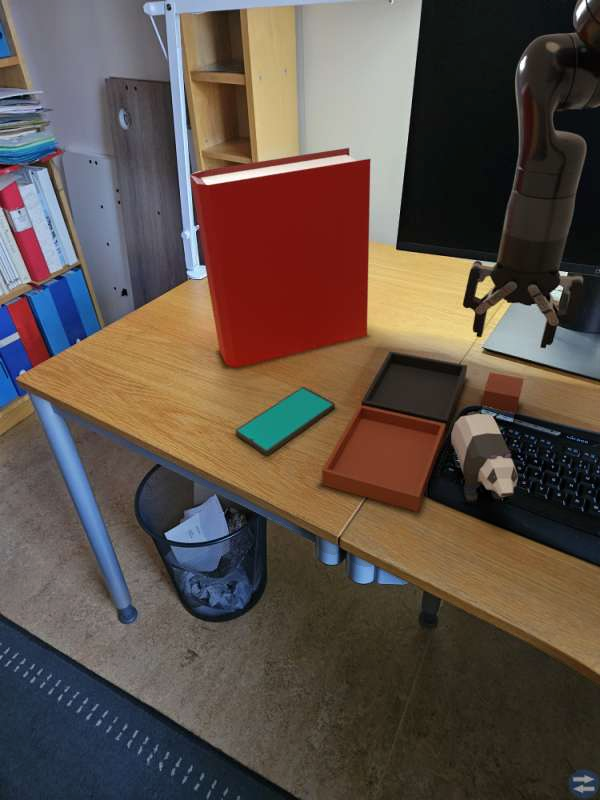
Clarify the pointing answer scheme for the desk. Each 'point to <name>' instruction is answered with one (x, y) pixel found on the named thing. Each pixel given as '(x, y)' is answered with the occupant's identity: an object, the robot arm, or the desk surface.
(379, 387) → the charcoal tray
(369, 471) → the terracotta tray
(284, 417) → the smartphone
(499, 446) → the giant panda
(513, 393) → the terracotta block
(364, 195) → the book
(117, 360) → the desk surface
